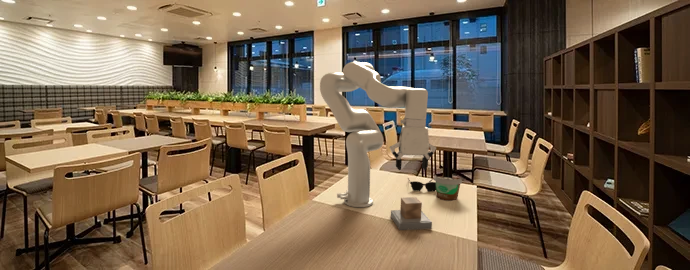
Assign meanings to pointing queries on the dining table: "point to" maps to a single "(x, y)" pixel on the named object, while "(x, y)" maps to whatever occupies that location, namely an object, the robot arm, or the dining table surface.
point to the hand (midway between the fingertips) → (411, 169)
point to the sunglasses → (418, 185)
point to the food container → (447, 188)
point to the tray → (410, 221)
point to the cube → (411, 208)
